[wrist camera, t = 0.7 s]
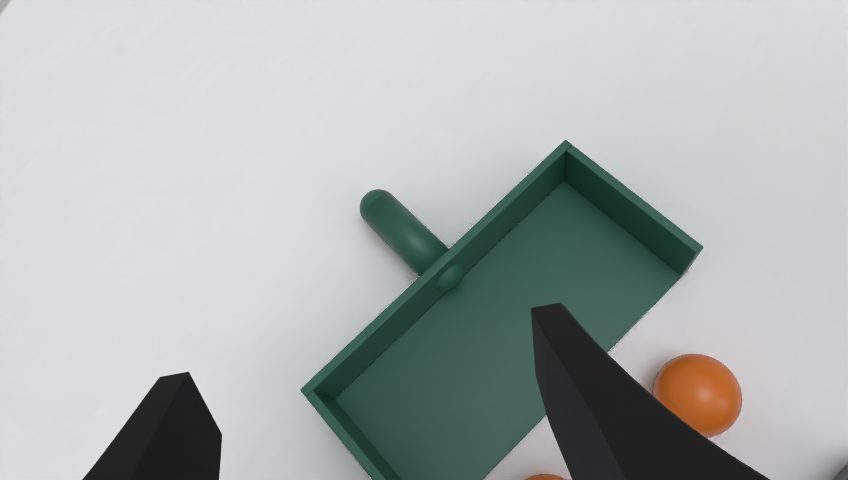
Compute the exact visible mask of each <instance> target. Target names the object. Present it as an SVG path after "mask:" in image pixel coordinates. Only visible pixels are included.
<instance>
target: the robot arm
mask: <svg viewBox="0 0 848 480" xmlns="http://www.w3.org/2000/svg"><path fill="white" fill-rule="evenodd" d="M531 319H532V333H533V347H534V360H535V374H536V379H537V383H538V386H539V390H540V393H541V397H542V400H543V404H544V407H545V411H546V414H547V417H548V421H549V423H550V426H551V428H552V431H553V433H554V436H555V438H556V441H557V443H558V445H559V448H560V450H561V453H562V455H563V458H564V460H565V462H566V465H567V467H568V470H569V472H570V475H571V477H572V479H573V480H770V479H768V478H766V477H765V476H763V475H762V474H760V473H759V472H757V471H755V470H754V469H752V468H751V467H749V466H747V465H746V464H744V463H743V462H741V461H739V460H738V459H736V458H735V457H733V456H731V455H730V454H728V453H727V452H725V451H724V450H723V449H721V448H720V447H718V446H717V445H715V444H714V443H713V442H711V441H710V440H708V439H707V438H706V437H704V436H703V435H701V434H700V433H699V432H697V431H696V430H695V429H693V428H692V427H691V426H689V425H688V424H687V423H685V422H684V421H683V420H681V419H680V418H679V417H678V416H676V415H675V414H674V413H673V412H671V411H670V410H669V409H668V408H667V407H665V406H664V405H663V404H662V403H660V402H659V401H658V400H657V399H656V398H655V397H654V396H652V395H651V394H650V393H649V392H648V391H647V390H645V389H644V388H643V387H642V386H641V385H640V384H639V383H638V382H637V381H635V380H634V379H633V378H632V377H631V376H630V375H629V374H628V373H627V372H626V371H625V370H624V369H623V368H622V367H621V366H620V365H619V364H618V363H617V362H616V361H615V360H614V359H612V358H611V357H610V356H609V355H608V354H607V353H606V352H605V350H604V349H603V348H602V347H601V346H600V345H599V344H598V343H597V342H596V341H595V340H594V339H593V338H592V337H591V336H590V335H589V334H588V332H587V331H586V330H585V329H584V328H583V327H582V326H581V325H580V323H579V322H578V321H577V320H576V319H575V318H574V316H573V315H572V314H571V313H570V312H569V310H568V309H567V308H566V307H565V306H564V305H563V304H561V303H554V304H549V305H543V306H538V307H533V308H531ZM221 442H222V434H221V432H220V430H219V428H218V426H217V424H216V423H215V421H214V419H213V417H212V415H211V413H210V411H209V409H208V407H207V406H206V404H205V402H204V400H203V398H202V396H201V394H200V392H199V390H198V388H197V387H196V385H195V383H194V381H193V379H192V377H191V375H190V373H189V372H185V373H179V374H174V375H169V376H163V377H160V378H159V379H158V380H157V382H156V383H155V384H154V385H153V387H152V388H151V389H150V391H149V392H148V394H147V395H146V396H145V398H144V399H143V400H142V402H141V403H140V404H139V406H138V407H137V409H136V410H135V411H134V413H133V414H132V415H131V417H130V418H129V420H128V421H127V422H126V424H125V425H124V426H123V428H122V429H121V430H120V432H119V433H118V434H117V436H116V437H115V438H114V440H113V441H112V442H111V444H110V445H109V446H108V448H107V449H106V450H105V452H104V453H103V454H102V456H101V457H100V458H99V460H98V461H97V462H96V464H95V465H94V466H93V467H92V469H91V470H90V471H89V472H88V473H87V475H86V476H85V477H84V478H83V480H219V471H220V459H221Z"/></svg>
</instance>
